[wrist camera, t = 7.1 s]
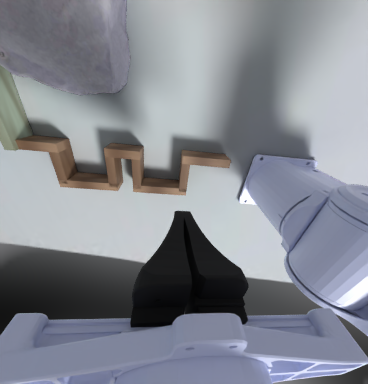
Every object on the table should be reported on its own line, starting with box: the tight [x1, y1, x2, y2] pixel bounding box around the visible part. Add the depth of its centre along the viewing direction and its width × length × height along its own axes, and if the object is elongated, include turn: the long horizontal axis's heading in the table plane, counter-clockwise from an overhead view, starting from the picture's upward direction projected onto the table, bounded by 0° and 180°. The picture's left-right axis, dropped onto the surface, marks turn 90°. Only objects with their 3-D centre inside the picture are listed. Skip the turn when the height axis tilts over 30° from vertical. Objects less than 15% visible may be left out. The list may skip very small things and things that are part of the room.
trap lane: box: [0, 65, 231, 195], centre depth 16 cm, size 25×22×3 cm
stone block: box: [0, 0, 131, 95], centre depth 13 cm, size 12×5×10 cm
